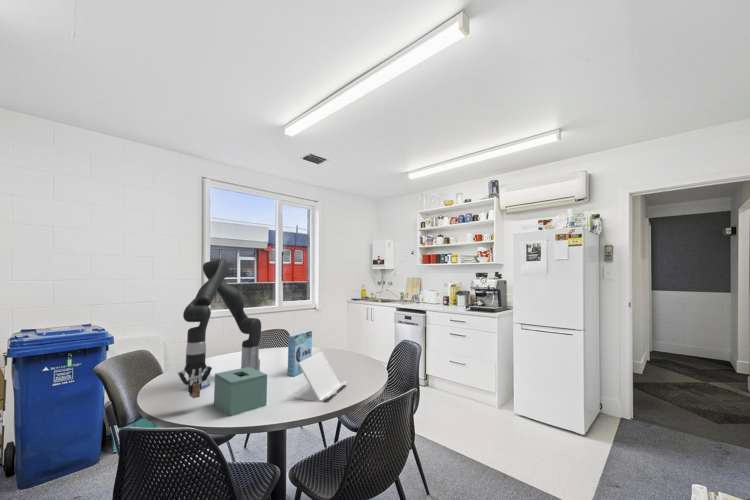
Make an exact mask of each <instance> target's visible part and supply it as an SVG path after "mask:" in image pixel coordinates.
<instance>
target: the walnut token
mask: <svg viewBox="0 0 750 500" xmlns="http://www.w3.org/2000/svg"><path fill="white" fill-rule="evenodd" d="M188 394H189V396H190V397H191V398H192V399H197V398H200V396H201V390H200V383H198V382H197V381H194V382H193V391H192V394H190V393H189V392H188Z"/></svg>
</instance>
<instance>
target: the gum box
mask: <svg viewBox="0 0 750 500" xmlns="http://www.w3.org/2000/svg"><path fill="white" fill-rule="evenodd" d="M312 336H313V331H311V330H306V331H301V332H298V333H293V334H291V335H288V339H287V340H288V343H287V345H288V346H287V347H288V348H287V349H288V352H287V376H288V377H289V376H290V377H296V376H298V375H300V374H301V373H302V374H303V372H302V370H301V369H300V367H299V365H298V363H299V362H301V361H303V360H305V359H307V358H309V357H311V356H313V355H312V353H313V352H312V351H313V345H312V344H313V343H312V342H313V341H312V340H313V337H312Z"/></svg>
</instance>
